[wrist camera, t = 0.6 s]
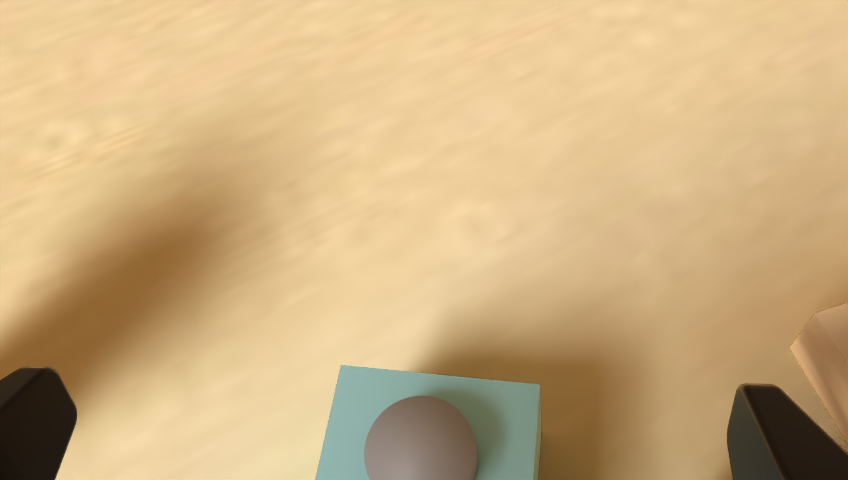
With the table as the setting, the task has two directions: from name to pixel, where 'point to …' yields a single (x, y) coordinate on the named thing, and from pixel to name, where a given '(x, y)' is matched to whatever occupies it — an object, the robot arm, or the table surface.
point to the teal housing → (430, 428)
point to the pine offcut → (827, 360)
